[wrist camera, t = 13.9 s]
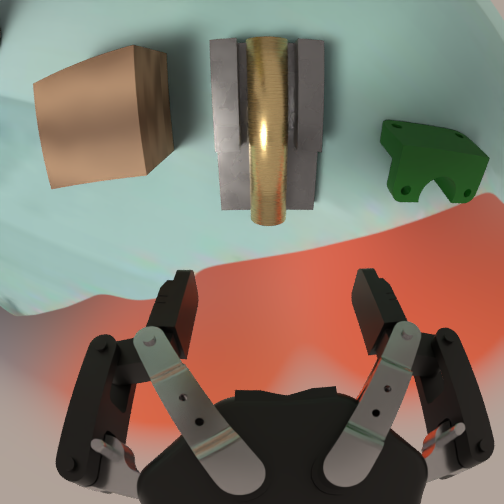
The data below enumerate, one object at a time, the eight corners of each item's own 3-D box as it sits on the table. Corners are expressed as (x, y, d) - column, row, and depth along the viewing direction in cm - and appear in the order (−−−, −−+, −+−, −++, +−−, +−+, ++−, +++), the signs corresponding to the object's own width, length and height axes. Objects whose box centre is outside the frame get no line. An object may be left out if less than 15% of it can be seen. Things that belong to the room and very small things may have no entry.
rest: (214, 47, 19) (207, 40, 16) (316, 47, 19) (326, 41, 15) (223, 203, 28) (218, 222, 25) (310, 203, 28) (317, 221, 24)
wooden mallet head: (79, 77, 19) (33, 83, 13) (166, 53, 19) (133, 44, 13) (91, 162, 25) (51, 189, 19) (174, 150, 25) (146, 175, 19)
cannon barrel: (245, 43, 18) (246, 36, 15) (283, 43, 18) (291, 37, 15) (250, 210, 27) (252, 226, 24) (282, 209, 27) (288, 225, 24)
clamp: (375, 154, 29) (371, 197, 23) (382, 108, 24) (383, 139, 19) (463, 181, 25) (479, 230, 19) (477, 139, 20) (503, 181, 15)
